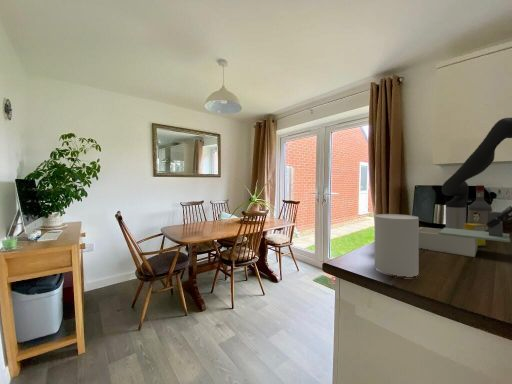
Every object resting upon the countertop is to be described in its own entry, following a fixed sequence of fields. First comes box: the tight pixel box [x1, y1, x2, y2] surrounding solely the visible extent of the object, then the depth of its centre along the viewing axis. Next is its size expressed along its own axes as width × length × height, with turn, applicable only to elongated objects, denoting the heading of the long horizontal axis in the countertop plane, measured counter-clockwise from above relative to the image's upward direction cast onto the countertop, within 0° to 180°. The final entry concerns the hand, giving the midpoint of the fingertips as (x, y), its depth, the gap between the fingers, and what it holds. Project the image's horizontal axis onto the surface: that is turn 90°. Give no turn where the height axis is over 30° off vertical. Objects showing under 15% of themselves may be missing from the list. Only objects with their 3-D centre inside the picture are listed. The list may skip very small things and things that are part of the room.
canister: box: [374, 213, 420, 277], centre depth 81 cm, size 14×14×20 cm
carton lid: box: [439, 211, 511, 243], centre depth 101 cm, size 22×16×11 cm
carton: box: [419, 226, 478, 258], centre depth 108 cm, size 22×16×8 cm
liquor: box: [467, 184, 493, 232], centre depth 140 cm, size 9×9×30 cm
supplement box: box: [463, 222, 487, 248], centre depth 113 cm, size 6×6×11 cm
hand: (488, 225), depth 97 cm, fingers closed on carton lid, 3 cm apart
